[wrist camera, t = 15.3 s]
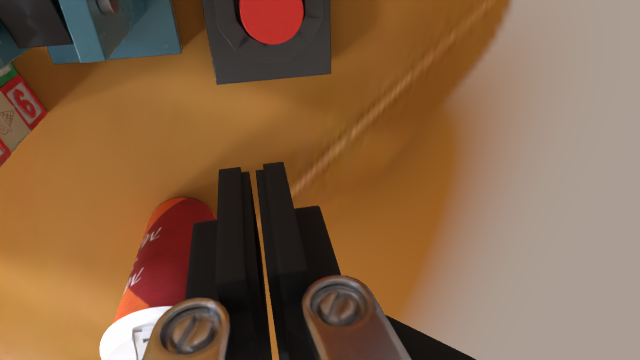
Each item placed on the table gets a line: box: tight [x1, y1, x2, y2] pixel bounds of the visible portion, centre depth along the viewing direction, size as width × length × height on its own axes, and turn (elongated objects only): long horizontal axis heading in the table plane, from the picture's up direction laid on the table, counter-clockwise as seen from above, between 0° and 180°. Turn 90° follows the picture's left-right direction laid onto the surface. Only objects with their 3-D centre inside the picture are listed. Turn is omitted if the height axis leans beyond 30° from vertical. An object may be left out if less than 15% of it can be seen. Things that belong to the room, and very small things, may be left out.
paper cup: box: [100, 198, 216, 360], centre depth 31 cm, size 8×8×14 cm
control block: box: [202, 0, 331, 85], centre depth 26 cm, size 10×8×4 cm
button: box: [239, 0, 304, 44], centre depth 24 cm, size 4×4×2 cm
